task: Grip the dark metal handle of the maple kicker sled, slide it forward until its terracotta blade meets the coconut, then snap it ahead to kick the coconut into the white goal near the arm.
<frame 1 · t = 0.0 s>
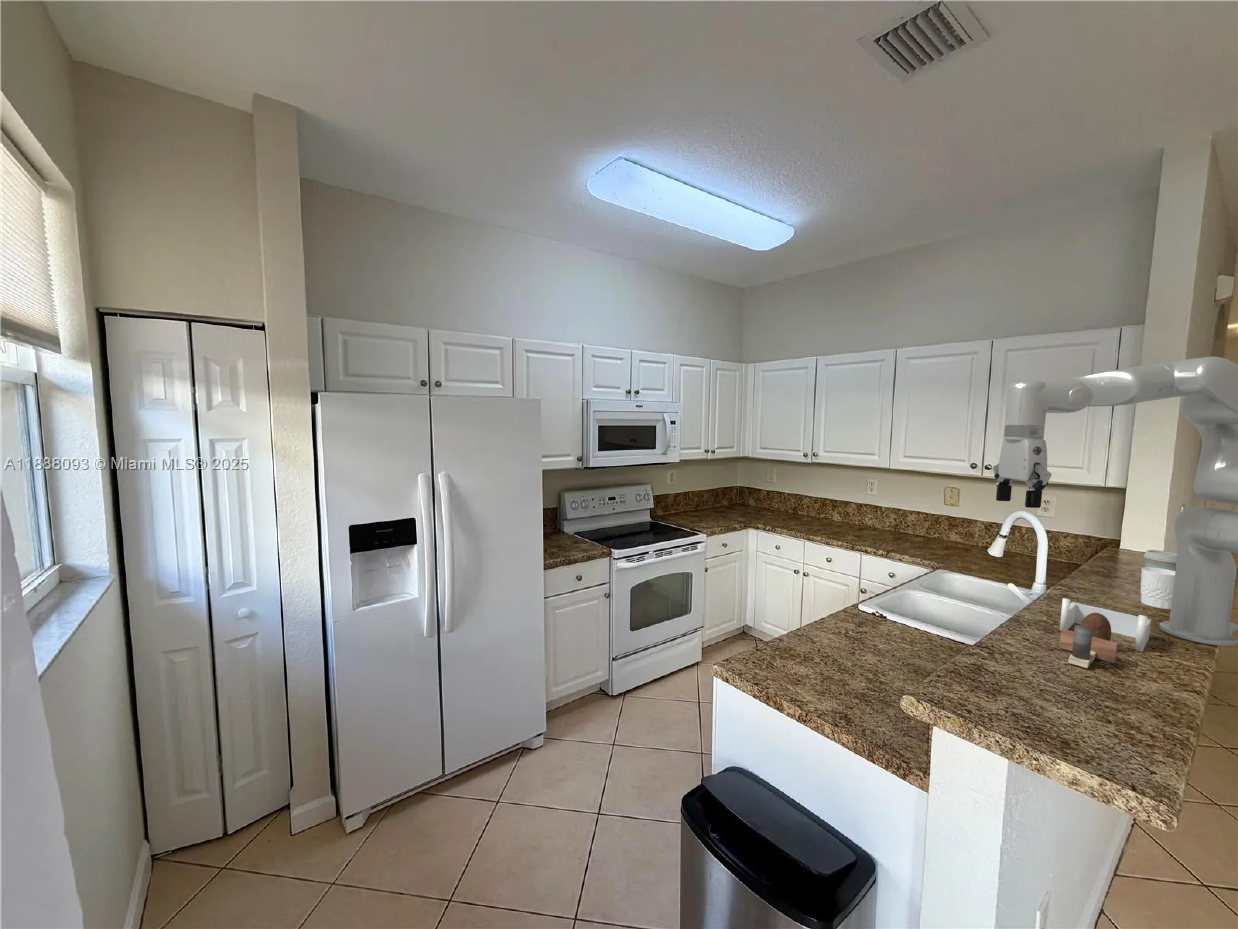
hand: (1017, 504, 123), 31 cm above the countertop, tool pointing down, fingers open, 9 cm apart
kicker sled: (1084, 642, 109), point 4 cm above the countertop, slide at 0.0 cm
white cup: (1157, 606, 145), on the countertop
coffee cup: (1159, 591, 158), on the countertop
coconut: (1093, 648, 116), on the countertop
goal: (1103, 635, 123), on the countertop
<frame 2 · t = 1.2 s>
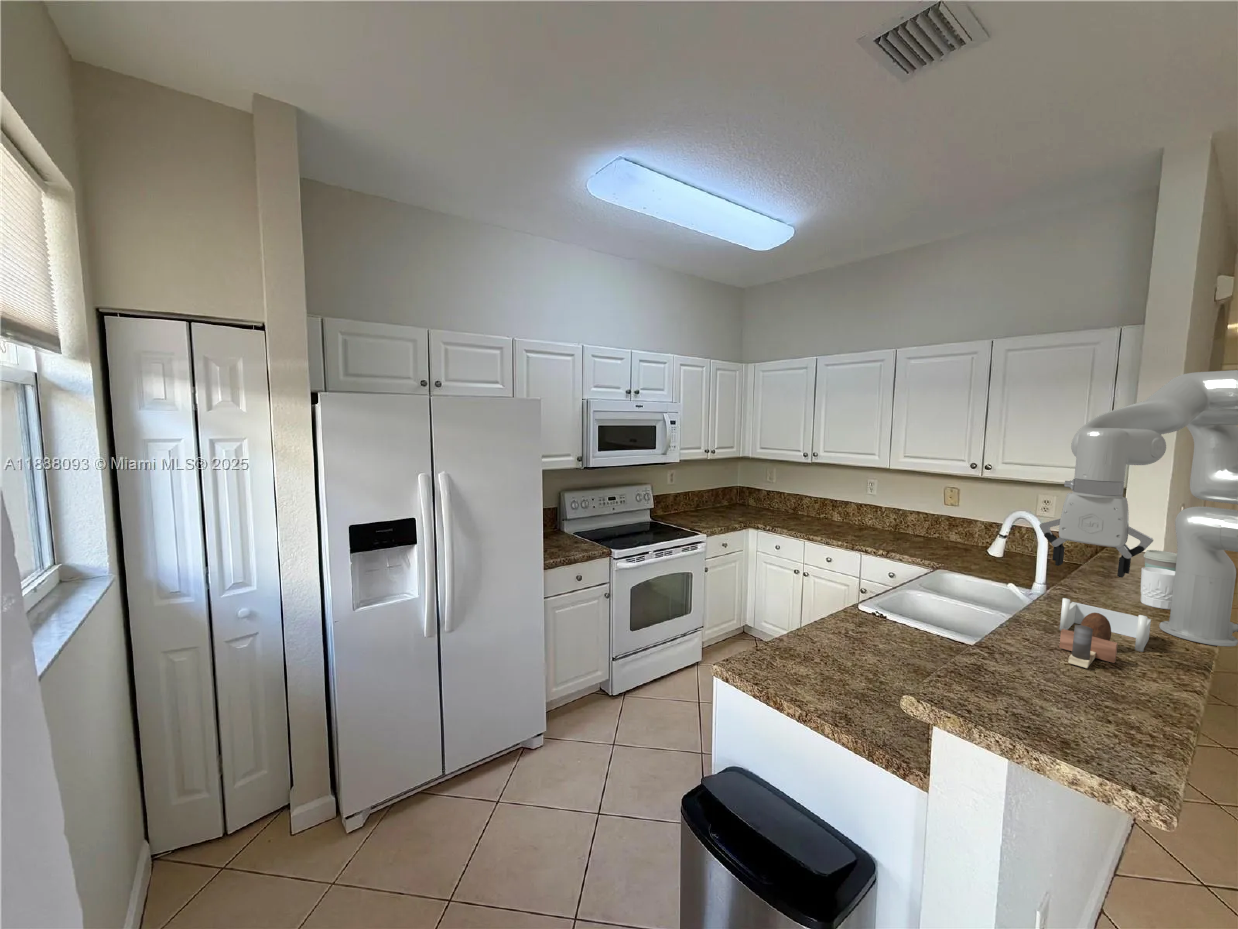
hand: (1088, 570, 106), 20 cm above the countertop, tool pointing down, fingers open, 9 cm apart
nothing on the countertop moved.
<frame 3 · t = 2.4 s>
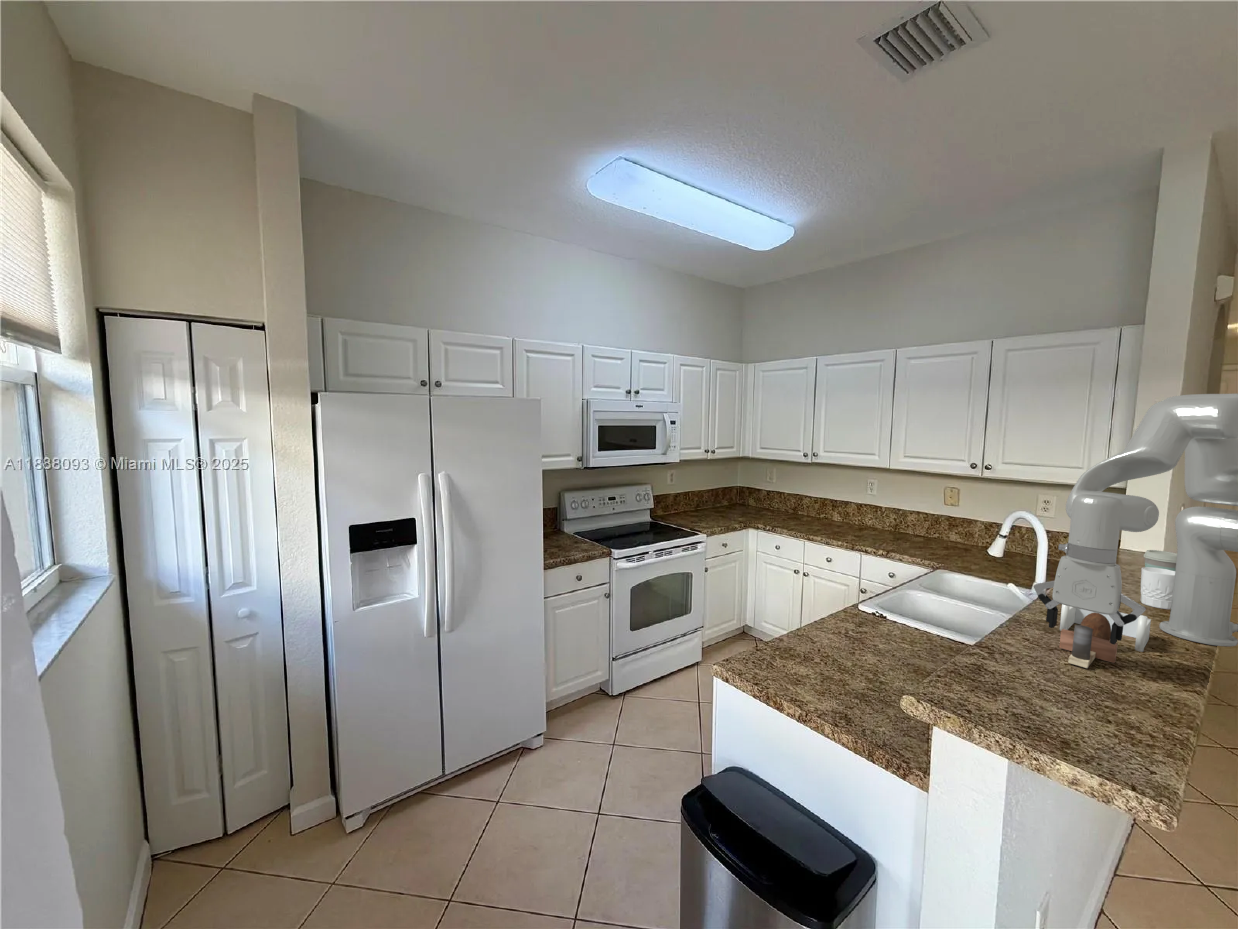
hand: (1081, 634, 107), 7 cm above the countertop, tool pointing down, fingers open, 9 cm apart
nothing on the countertop moved.
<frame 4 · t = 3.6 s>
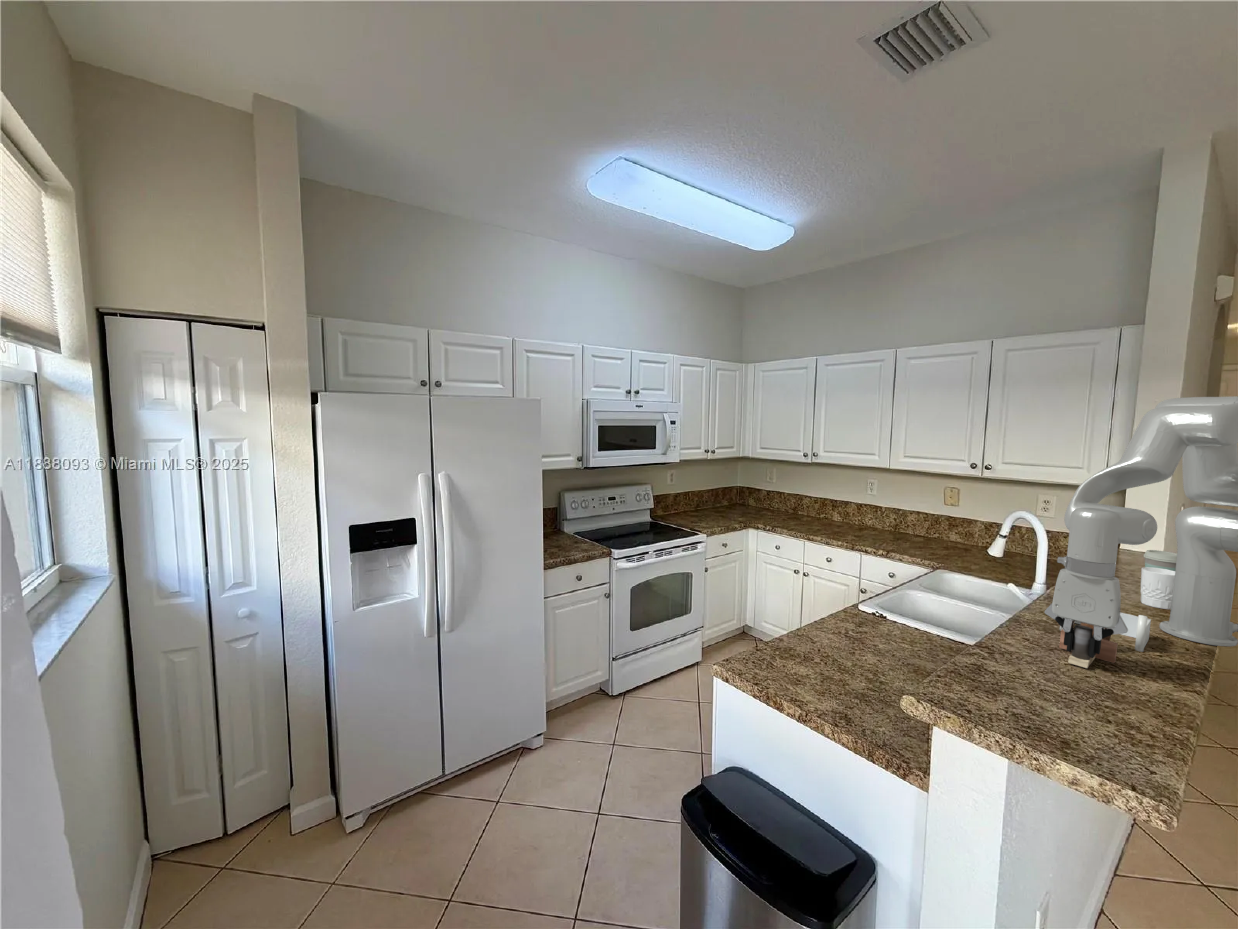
hand: (1081, 652, 107), 3 cm above the countertop, tool pointing down, fingers closed on kicker sled, 2 cm apart
kicker sled: (1084, 642, 109), point 4 cm above the countertop, slide at 0.0 cm, touching gripper
everything else where it was.
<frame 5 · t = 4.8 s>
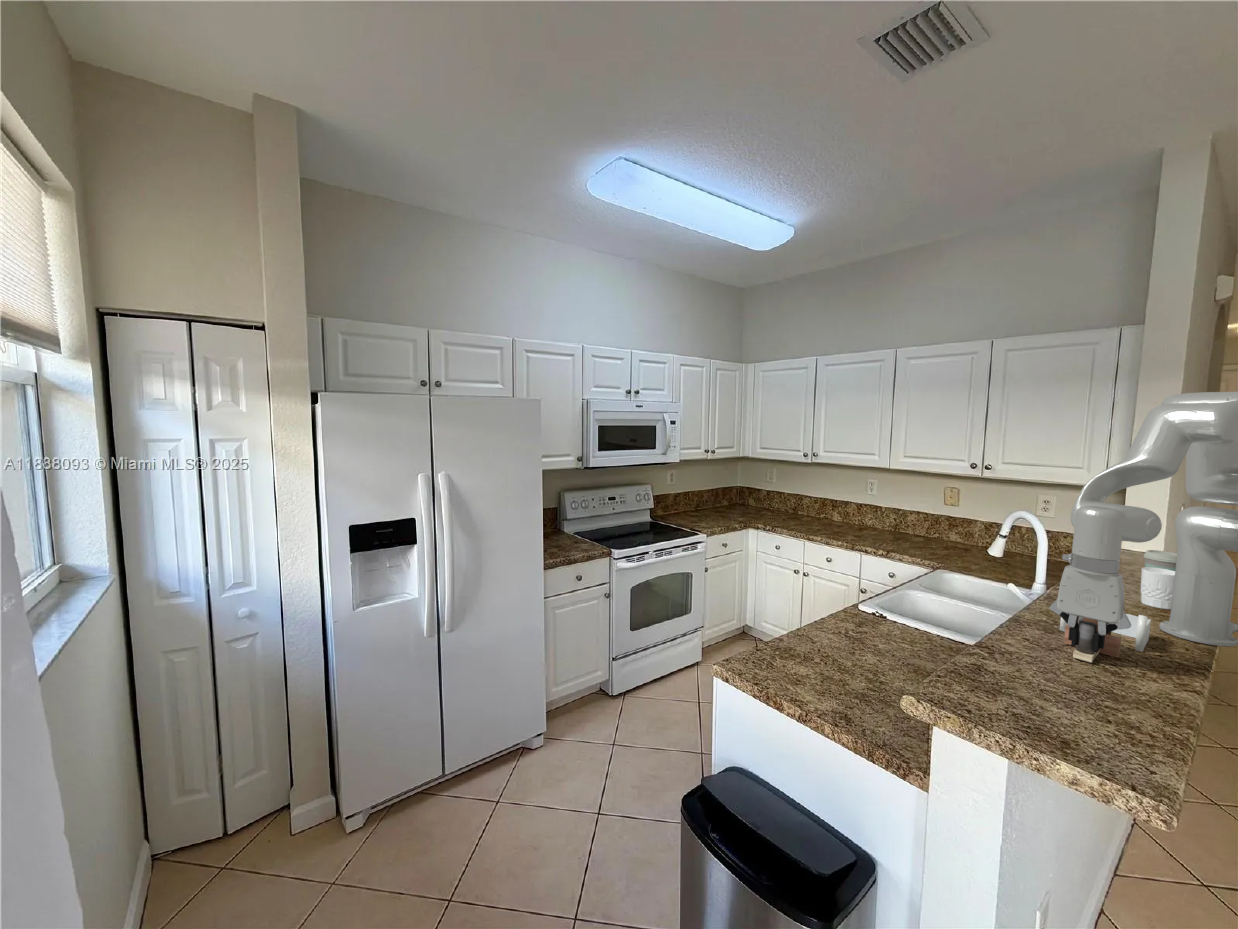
hand: (1085, 646, 110), 3 cm above the countertop, tool pointing down, fingers closed on kicker sled, 2 cm apart
kicker sled: (1088, 637, 111), point 4 cm above the countertop, slide at 4.2 cm, touching gripper, coconut
coconut: (1093, 647, 116), on the countertop, touching kicker sled
everything else where it was.
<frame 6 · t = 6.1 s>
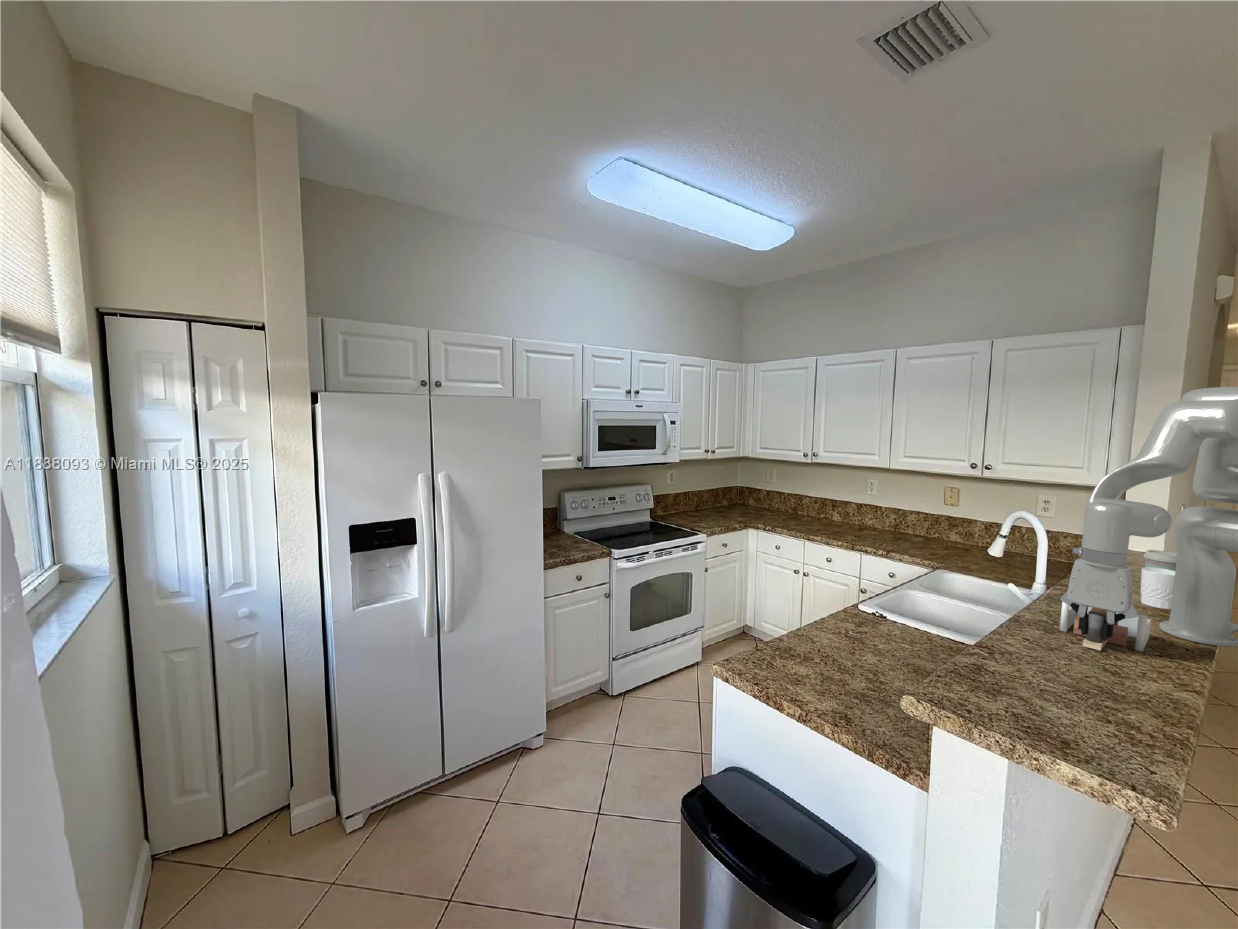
hand: (1094, 635, 116), 3 cm above the countertop, tool pointing down, fingers closed on kicker sled, 2 cm apart
kicker sled: (1097, 627, 117), point 4 cm above the countertop, slide at 13.7 cm, touching gripper, coconut
coconut: (1100, 637, 122), on the countertop, touching kicker sled
everything else where it was.
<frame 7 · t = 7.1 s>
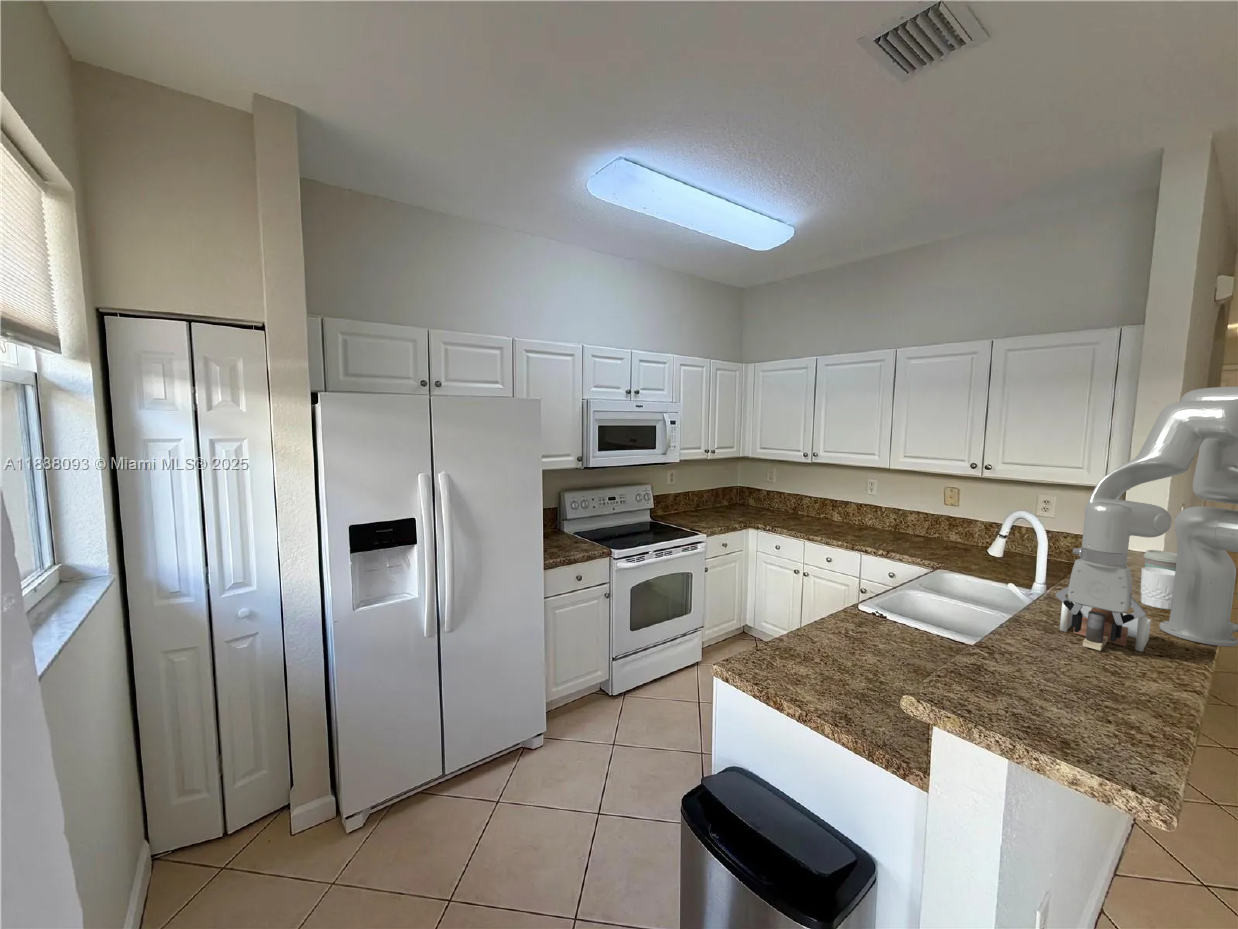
hand: (1095, 634, 116), 3 cm above the countertop, tool pointing down, fingers open, 5 cm apart
kicker sled: (1097, 627, 117), point 4 cm above the countertop, slide at 13.7 cm, touching coconut
everything else where it was.
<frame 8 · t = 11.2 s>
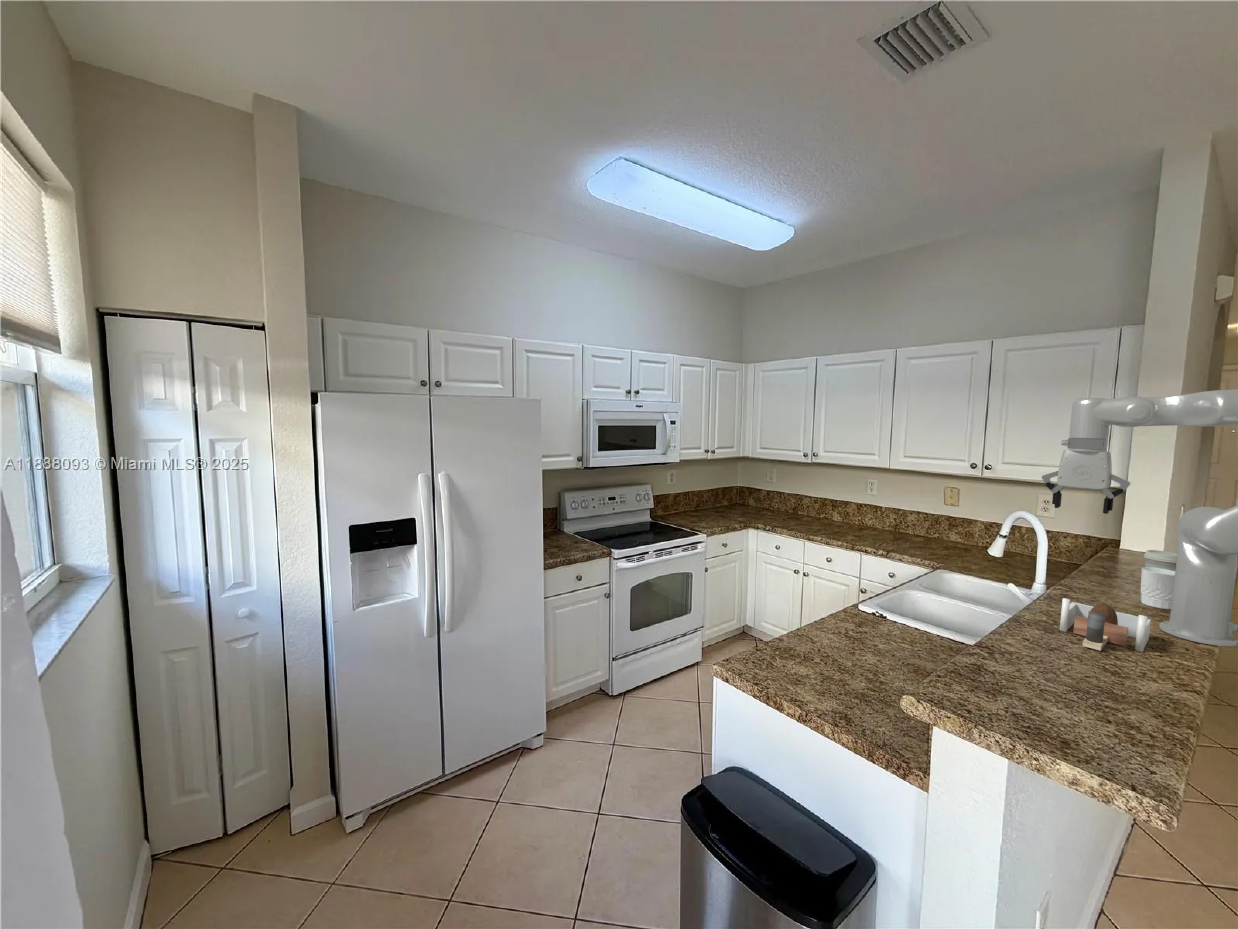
hand: (1080, 510, 134), 28 cm above the countertop, tool pointing down, fingers open, 9 cm apart
nothing on the countertop moved.
at the end: coconut 1.5 cm from the goal (horizontally); kicker sled slide at 13.7 cm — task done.
